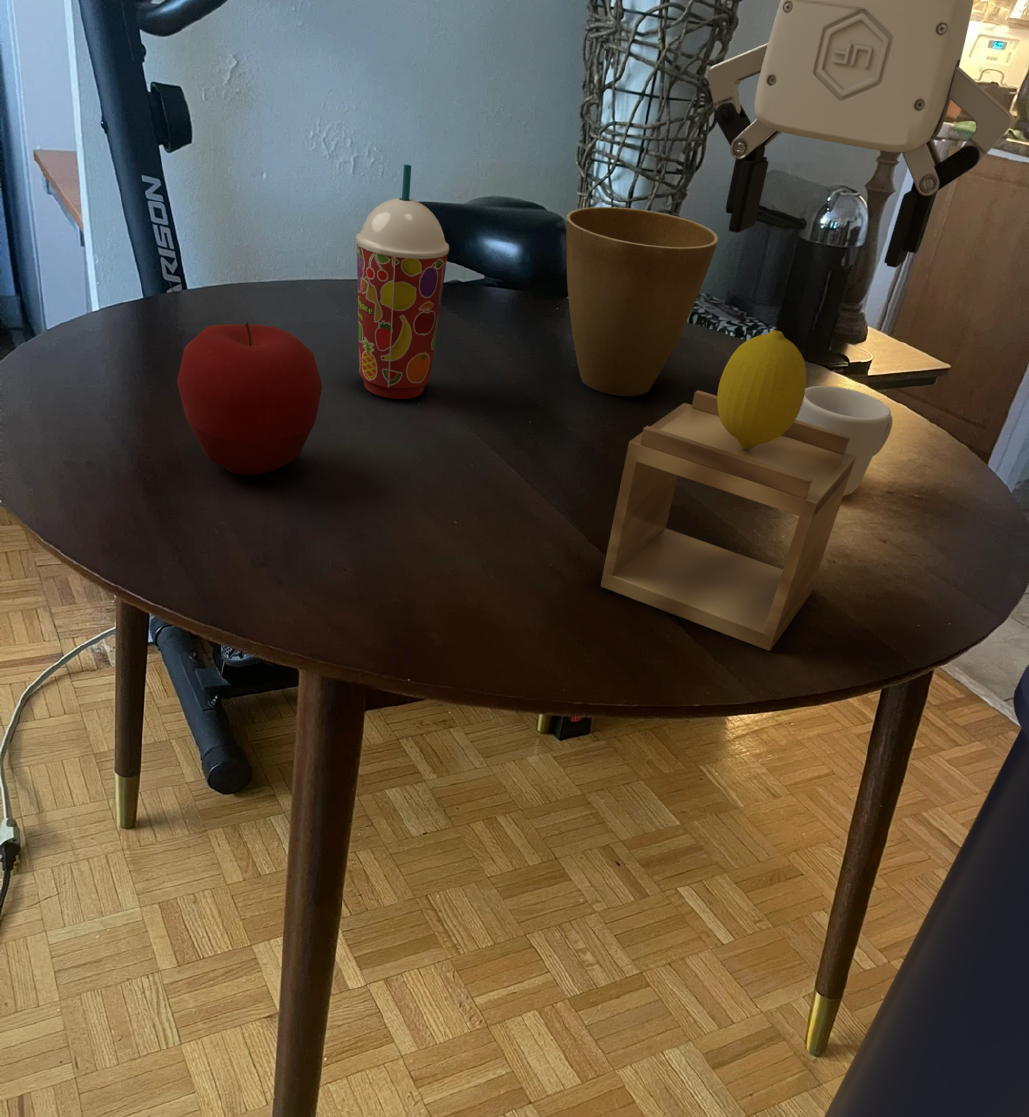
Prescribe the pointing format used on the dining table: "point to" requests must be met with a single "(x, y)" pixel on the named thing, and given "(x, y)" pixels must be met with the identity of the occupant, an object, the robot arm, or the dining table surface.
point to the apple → (249, 395)
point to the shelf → (707, 570)
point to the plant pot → (631, 291)
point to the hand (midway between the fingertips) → (816, 245)
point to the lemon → (761, 389)
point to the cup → (849, 423)
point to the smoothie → (399, 294)
